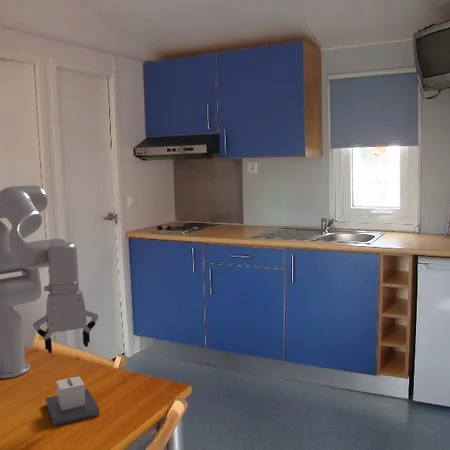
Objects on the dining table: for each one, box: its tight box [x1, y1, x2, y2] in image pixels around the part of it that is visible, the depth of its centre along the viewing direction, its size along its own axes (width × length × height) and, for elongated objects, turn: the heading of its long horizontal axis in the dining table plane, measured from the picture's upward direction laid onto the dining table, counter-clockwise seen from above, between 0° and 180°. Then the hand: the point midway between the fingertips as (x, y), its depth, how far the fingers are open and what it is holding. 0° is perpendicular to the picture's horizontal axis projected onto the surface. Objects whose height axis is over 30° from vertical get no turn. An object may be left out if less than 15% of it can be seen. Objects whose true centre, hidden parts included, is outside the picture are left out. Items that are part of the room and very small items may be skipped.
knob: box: [56, 376, 86, 410], centre depth 146 cm, size 6×6×6 cm
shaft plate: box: [45, 388, 100, 427], centre depth 146 cm, size 14×12×6 cm
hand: (67, 348), depth 144 cm, fingers open, 9 cm apart
